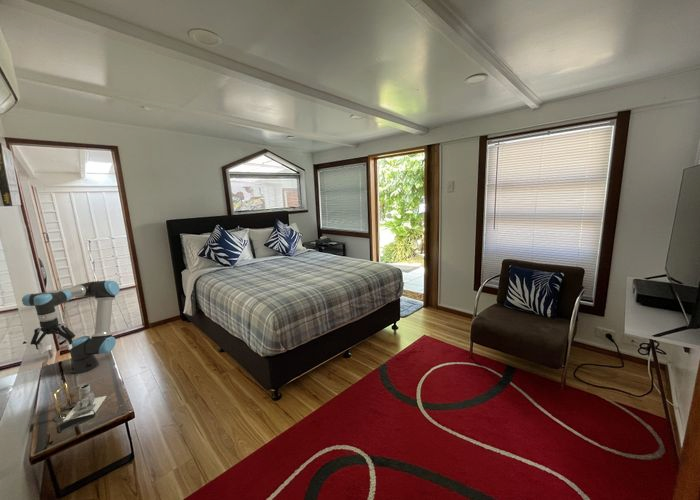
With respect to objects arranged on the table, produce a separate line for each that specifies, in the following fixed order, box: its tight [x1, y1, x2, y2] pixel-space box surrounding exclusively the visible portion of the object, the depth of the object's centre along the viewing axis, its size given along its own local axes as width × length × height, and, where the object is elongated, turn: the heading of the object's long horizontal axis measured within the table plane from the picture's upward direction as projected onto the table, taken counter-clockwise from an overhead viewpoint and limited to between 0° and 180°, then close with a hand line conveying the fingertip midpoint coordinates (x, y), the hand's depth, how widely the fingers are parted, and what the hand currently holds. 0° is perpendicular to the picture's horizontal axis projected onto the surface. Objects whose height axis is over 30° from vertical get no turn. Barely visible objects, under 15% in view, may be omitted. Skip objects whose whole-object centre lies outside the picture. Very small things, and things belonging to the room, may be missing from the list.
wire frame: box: [52, 381, 77, 422], centre depth 164 cm, size 15×5×16 cm, turn 20°
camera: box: [73, 383, 96, 415], centre depth 167 cm, size 9×12×15 cm
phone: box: [57, 410, 97, 434], centre depth 159 cm, size 8×1×15 cm
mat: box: [62, 395, 107, 423], centre depth 168 cm, size 16×14×1 cm
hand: (56, 351), depth 173 cm, fingers open, 13 cm apart
